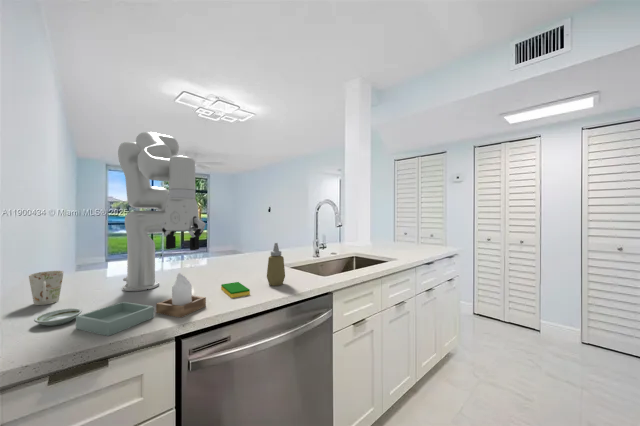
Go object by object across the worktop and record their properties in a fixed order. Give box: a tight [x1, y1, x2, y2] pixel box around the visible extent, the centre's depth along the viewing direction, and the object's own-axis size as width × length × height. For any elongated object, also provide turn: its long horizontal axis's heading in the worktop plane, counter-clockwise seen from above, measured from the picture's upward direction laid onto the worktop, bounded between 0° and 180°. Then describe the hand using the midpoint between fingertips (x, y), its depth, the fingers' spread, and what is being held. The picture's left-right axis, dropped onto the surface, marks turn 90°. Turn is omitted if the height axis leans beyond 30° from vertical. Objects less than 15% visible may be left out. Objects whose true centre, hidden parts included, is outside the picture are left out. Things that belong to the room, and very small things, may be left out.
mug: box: [28, 270, 64, 306], centre depth 91 cm, size 8×13×10 cm, turn 45°
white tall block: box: [171, 272, 193, 306], centre depth 86 cm, size 6×12×6 cm
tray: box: [75, 301, 155, 337], centre depth 76 cm, size 13×13×3 cm
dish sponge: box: [220, 281, 251, 299], centre depth 105 cm, size 7×14×2 cm, turn 35°
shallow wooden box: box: [155, 295, 207, 318], centre depth 86 cm, size 10×10×3 cm
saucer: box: [33, 307, 83, 327], centre depth 76 cm, size 10×10×2 cm
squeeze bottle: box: [266, 242, 286, 287], centre depth 116 cm, size 8×8×18 cm
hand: (182, 249), depth 86 cm, fingers open, 9 cm apart
